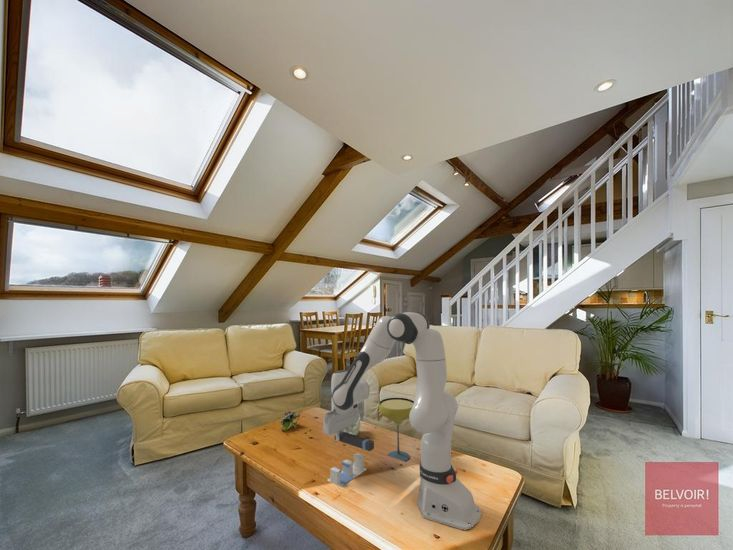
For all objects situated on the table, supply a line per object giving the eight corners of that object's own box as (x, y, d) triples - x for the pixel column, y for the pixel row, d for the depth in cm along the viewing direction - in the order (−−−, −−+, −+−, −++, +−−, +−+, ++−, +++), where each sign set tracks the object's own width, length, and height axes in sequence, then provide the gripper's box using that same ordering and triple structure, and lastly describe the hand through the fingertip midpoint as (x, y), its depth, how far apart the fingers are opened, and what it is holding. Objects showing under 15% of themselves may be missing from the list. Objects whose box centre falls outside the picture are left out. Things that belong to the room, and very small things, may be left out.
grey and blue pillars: (368, 472, 144) (367, 457, 144) (341, 491, 130) (341, 473, 131) (353, 466, 149) (353, 451, 149) (326, 483, 136) (326, 467, 136)
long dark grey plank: (374, 448, 138) (374, 440, 139) (369, 451, 136) (369, 443, 136) (339, 437, 151) (339, 430, 151) (334, 439, 148) (334, 432, 148)
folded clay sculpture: (351, 453, 175) (350, 433, 169) (332, 442, 182) (330, 422, 175) (369, 429, 189) (369, 409, 182) (350, 419, 195) (350, 400, 189)
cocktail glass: (405, 445, 170) (404, 395, 171) (425, 461, 153) (423, 406, 155) (373, 452, 162) (372, 400, 164) (390, 469, 146) (389, 412, 147)
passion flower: (287, 435, 196) (293, 414, 203) (300, 436, 190) (306, 414, 198) (274, 429, 189) (281, 408, 197) (287, 430, 184) (293, 408, 191)
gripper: (329, 414, 139) (330, 448, 138) (360, 402, 155) (361, 432, 154) (319, 411, 142) (319, 445, 142) (350, 399, 158) (351, 429, 158)
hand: (341, 438), depth 148 cm, fingers closed on long dark grey plank, 3 cm apart
